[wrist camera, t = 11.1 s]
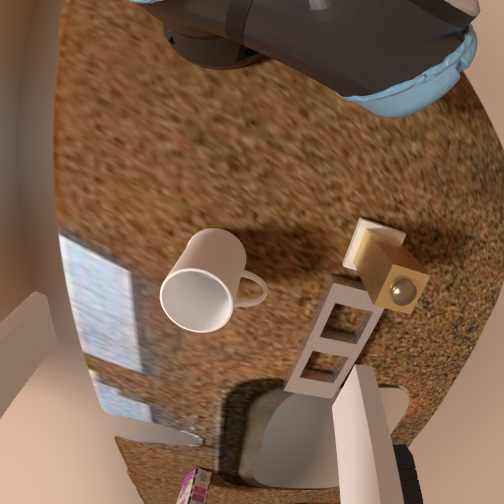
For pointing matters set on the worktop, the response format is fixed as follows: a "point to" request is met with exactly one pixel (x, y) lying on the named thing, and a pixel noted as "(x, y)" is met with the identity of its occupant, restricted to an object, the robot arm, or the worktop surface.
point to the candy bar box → (195, 487)
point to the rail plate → (332, 339)
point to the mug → (207, 282)
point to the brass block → (389, 272)
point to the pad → (358, 236)
